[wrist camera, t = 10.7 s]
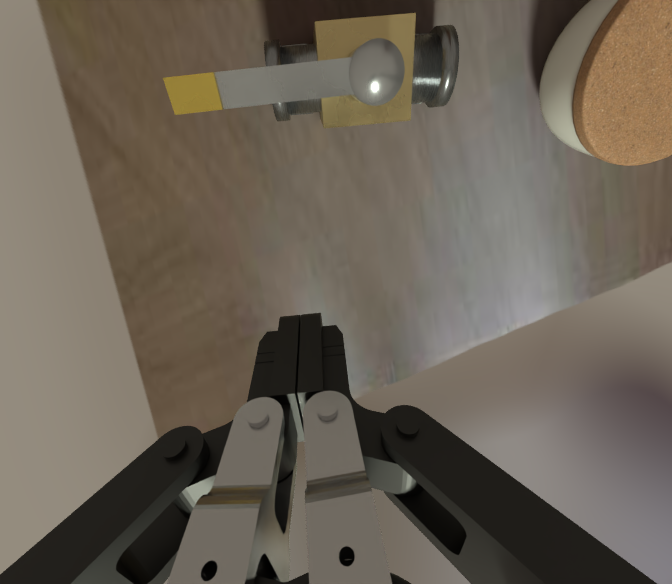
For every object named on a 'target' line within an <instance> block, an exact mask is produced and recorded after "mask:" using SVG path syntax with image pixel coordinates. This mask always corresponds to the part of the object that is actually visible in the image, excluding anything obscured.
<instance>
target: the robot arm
mask: <svg viewBox="0 0 672 584" xmlns="http://www.w3.org/2000/svg"><path fill="white" fill-rule="evenodd" d="M301 441H304V443H305V459H306V476H307V488H306V491H305V509H306V529H307V549H308V569H309V572H308V573H306V574H304V575H302V576H300V577H297V578H295V579H293V580H291V581H289V570H290V549H289V535H290V525H291V517H292V508H293V499H294V490H295V481H296V472H297V461H296V458H297V442H301ZM371 488H375V489H379V490H383V491H384V493H385V494H386V496H387V497H388V498H389V499H390V500H391V501H392V502H393V503H394V504H395V505H396V506H397V507H398V508H399V509H400V510H401V511H402V513H404V515H405V516H406V517H407V518H408V519H409V520H410V521H411V522H412V523H413V524H414V525H415V526H416V527H417V528H418V529H419V530H420V531H421V532H422V533H423V534H424V535H425V536H426V537H427V538H428V539H429V540H430V542H432V544H433V545H434V546H435V547H436V548H437V549H438V550H439V551H440V552H441V553H442V554H443V555H444V556H445V557H446V558H447V559H448V560H449V561H450V562H451V563H452V564H453V565H454V566H455V567H456V568H457V570H458V571H459V572H460V573H461V574H462V575H463V576H464V577H465V578H466V579H467V580H468V581H469V582H470V583H471V584H657V583H655V582H654V581H653V580H651V579H650V578H649V577H647V576H646V575H644V574H643V573H642V572H640V571H639V570H638V569H636V568H635V567H634V566H632V565H631V564H630V563H628V562H627V561H626V560H624V559H623V558H621V557H620V556H619V555H617V554H616V553H615V552H613V551H612V550H610V549H609V548H608V547H607V546H605V545H604V544H602V543H601V542H600V541H598V540H597V539H596V538H594V537H593V536H592V535H590V534H588V532H586V531H585V530H583V529H582V528H581V527H579V526H578V525H577V524H575V523H574V522H573V521H571V520H570V519H568V518H567V517H566V516H564V515H563V514H562V513H560V512H559V511H558V510H556V509H555V508H553V507H552V506H551V505H550V504H548V503H547V502H545V501H544V500H543V499H541V498H540V497H538V496H537V495H536V494H535V493H533V492H532V491H531V490H529V489H528V488H526V487H525V486H524V485H522V484H521V483H520V482H518V481H517V480H516V479H514V478H513V477H511V476H510V475H509V474H507V473H506V472H505V471H503V470H502V469H501V468H499V467H498V466H497V465H495V464H494V463H493V462H491V461H490V460H488V459H487V458H486V457H484V456H483V455H482V454H480V453H479V452H478V451H476V450H475V449H474V448H472V447H471V446H469V445H468V444H467V443H465V442H464V441H463V440H461V439H460V438H459V437H457V436H456V435H454V434H453V433H452V432H450V431H449V430H448V429H446V428H445V427H444V426H442V425H441V424H440V423H438V422H437V421H436V420H434V419H433V418H431V417H430V416H429V415H427V414H426V413H425V412H423V411H422V410H420V409H418V408H416V407H413V406H408V405H401V406H396V407H393V408H391V409H390V410H388V411H387V412H386V413H380V412H376V411H371V410H367V409H365V408H363V407H361V406H360V405H359V404H357V403H356V402H355V401H354V399H353V398H352V396H351V394H350V390H349V383H348V374H347V366H346V358H345V349H344V341H343V334H342V332H341V331H340V330H339V329H338V327H337V326H336V325H332V326H322V318H321V313H314V314H304V315H301V316H300V315H294V316H284V317H280V320H279V327H278V331H271V332H267V333H266V334H265V335H264V337H263V338H262V339H261V341H260V342H259V346H258V351H257V356H256V361H255V366H254V371H253V376H252V380H251V385H250V390H249V395H248V400H247V403H246V404H244V405H243V406H242V407H241V408H240V409H239V410H238V412H237V413H236V415H235V417H234V420H232V421H231V422H229V423H227V424H226V425H223V426H221V427H219V428H216V429H213V430H211V431H208V432H206V433H203V434H202V433H201V431H200V430H199V429H197V428H195V427H192V426H182V427H178V428H175V429H173V430H171V431H169V432H167V433H166V434H164V435H163V436H162V437H161V438H159V439H158V440H157V441H156V442H155V443H154V444H153V445H151V446H150V447H149V448H148V449H147V450H146V451H144V452H143V453H142V454H141V455H140V456H138V457H137V458H136V459H135V460H134V461H133V462H131V463H130V464H129V465H128V466H127V467H126V468H124V469H123V470H122V471H121V472H120V473H119V474H117V475H116V476H115V477H114V478H113V479H112V480H110V481H109V482H108V483H107V484H106V485H104V486H103V487H102V488H101V489H100V490H99V491H97V492H96V493H95V494H94V495H93V496H92V497H90V498H89V499H88V500H87V501H86V502H85V503H83V504H82V505H81V506H80V507H79V508H78V509H76V510H75V511H74V512H73V513H72V514H71V515H70V516H68V517H67V518H66V519H65V520H64V521H63V522H61V523H60V524H59V525H58V526H57V527H55V528H54V529H53V530H52V531H51V532H50V533H48V534H47V535H46V536H45V537H44V538H43V539H41V540H40V541H39V542H38V543H37V544H36V545H34V546H33V547H32V548H31V549H30V550H29V551H27V552H26V553H25V554H24V555H23V556H22V557H20V558H19V559H18V560H17V561H16V562H15V563H13V564H12V565H11V566H10V567H9V568H7V569H6V570H5V571H4V572H3V573H2V574H0V584H163V583H164V582H165V581H166V580H167V579H168V577H169V579H168V582H167V584H411V583H409V582H408V581H406V580H404V579H403V578H401V577H399V576H397V575H395V574H392V573H390V572H389V567H388V562H387V558H386V553H385V548H384V544H383V539H382V535H381V530H380V525H379V521H378V516H377V512H376V507H375V502H374V498H373V493H372V489H371Z"/></svg>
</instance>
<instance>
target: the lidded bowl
mask: <svg viewBox="0 0 672 584" xmlns="http://www.w3.org/2000/svg"><path fill="white" fill-rule="evenodd" d="M539 100H540V108H541V112H542V116H543V119H544V120H545V122H546V124H547V126H548V128H549V129H550V131H551V132H552V133H553V134H554V135H555V136H556V137H557V138H558V139H559V140H561V141H562V142H564V143H565V144H566V145H568V146H569V147H571V148H573V149H575V150H578V151H580V152H582V153H585V154H588V155H591V156H594V157H596V158H599V159H601V160H603V161H606V162H609V163H613V164H618V165H624V166H628V165H641V164H647V163H651V162H654V161H657V160H660V159H663V158H666V157H668V156H670V155H672V0H590V1H589V2H588V3H587V4H586V5H585V6H584V7H583V8H582V9H581V10H580V11H579V12H578V13H577V14H576V15H575V16H574V17H573V18H572V19H571V21H570V22H569V23H568V24H567V25H566V27H565V28H564V30H563V31H562V33H561V34H560V36H559V37H558V39H557V40H556V42H555V44H554V46H553V48H552V49H551V51H550V53H549V56H548V58H547V60H546V63H545V65H544V69H543V72H542V76H541V81H540V91H539Z"/></svg>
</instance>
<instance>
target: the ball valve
mask: <svg viewBox="0 0 672 584" xmlns="http://www.w3.org/2000/svg"><path fill="white" fill-rule="evenodd" d="M415 21H416V13H407V14H396V15H384V16H372V17H360V18H349V19H337V20H325V21H315V24H314V33H313V38H314V44H297V45H285V46H282V47H281V44H280V41H279V40H269V41H265V42H264V50H265V61H266V67H267V66H276V65H285V64H294V63H303V62H312V61H321V60H330V59H339V58H348V57H349V56H350V55H351V53H352V52H353V51H354V50H355V49H357V48H358V47H359V46H361V45H362V44H364V43H365V42H367V41H369V40H371V39H375V38H383V39H387V40H389V41H391V42H392V43H394V44H395V45H396V46H397V47H398V49H399V50H400V52H401V54H402V57H403V60H404V66H405V73H404V79H403V83H402V85H401V88H400V90H399V91H398V93H397V94H396V95H395V97H394V98H393V99H391V100H390V101H389V102H387V103H385V104H382V105H378V106H372V105H368V104H365V103H362V102H360V101H358V100H356V99H355V98H353V97H352V96H351V95H345V96H336V97H327V98H318V99H309V100H300V101H291V102H283V103H274V104H272V105H273V109H274V113H275V117H276V120H277V121H287V120H290V115H299V114H310V113H314V112H320V117H321V121H322V124H323V127H324V128H333V127H344V126H354V125H365V124H376V123H387V122H398V121H409V120H410V119H411V104H420V103H423V102H425V103H426V105H427V106H428V107H440V106H444V105H446V104H447V102H448V101H449V99H450V97H451V95H452V92H453V89H454V86H455V82H456V77H457V71H458V62H459V42H458V35H457V32H456V29H455V27H454V26H453V25H443V26H436V27H434V28H433V29H432V31H431V33H430V34H427V33H424V34H415Z"/></svg>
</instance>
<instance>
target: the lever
mask: <svg viewBox="0 0 672 584" xmlns="http://www.w3.org/2000/svg"><path fill="white" fill-rule="evenodd" d="M404 73H405V66H404V60H403V57H402V54H401V52H400V50H399V49H398V47H397V46H396V45H395V44H394V43H392V42H391V41H389V40H387V39H383V38H375V39H371V40H369V41H367V42H365V43H364V44H362V45H361V46H359V47H358V48H357V49H355V50H354V51H353V52H352V53H351V55H350V56H349V57H348V58H339V59H330V60H321V61H312V62H303V63H294V64H285V65H276V66H267V67H258V68H249V69H240V70H231V71H222V72H212V73H203V74H194V75H185V76H176V77H167V78H163V80H164V83H165V86H166V89H167V92H168V95H169V98H170V101H171V104H172V107H173V110H174V113H175V115H177V114H186V113H195V112H204V111H213V110H222V109H229V108H238V107H247V106H256V105H265V104H274V103H283V102H291V101H300V100H309V99H318V98H327V97H336V96H345V95H351V96H352V97H353V98H355V99H356V100H358V101H360V102H362V103H365V104H368V105H372V106H378V105H382V104H385V103H387V102H389V101H390V100H391V99H393V98H394V97H395V95H396V94H397V93H398V91H399V90H400V88H401V85H402V83H403V79H404Z"/></svg>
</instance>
